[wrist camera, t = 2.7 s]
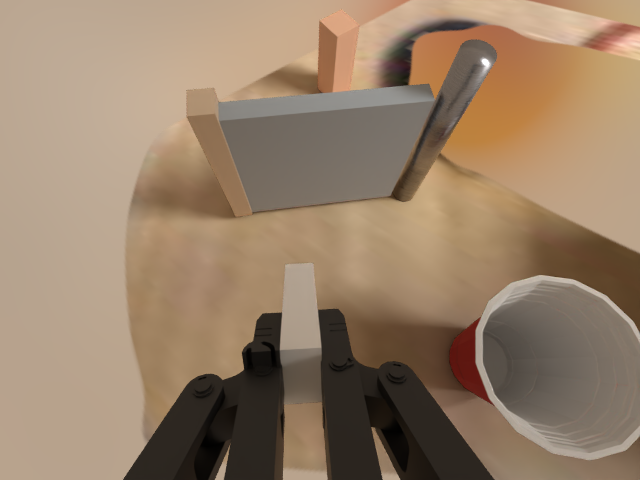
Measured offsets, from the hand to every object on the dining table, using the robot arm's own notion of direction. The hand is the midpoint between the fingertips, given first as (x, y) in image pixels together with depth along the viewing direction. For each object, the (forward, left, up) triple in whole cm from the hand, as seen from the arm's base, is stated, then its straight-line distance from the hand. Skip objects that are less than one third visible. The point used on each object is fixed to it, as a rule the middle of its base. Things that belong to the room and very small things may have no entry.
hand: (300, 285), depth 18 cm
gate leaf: (+5, -12, -14) cm, 19 cm away
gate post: (-3, -18, -15) cm, 24 cm away
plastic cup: (-16, -4, -15) cm, 23 cm away
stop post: (+10, -28, -15) cm, 34 cm away
